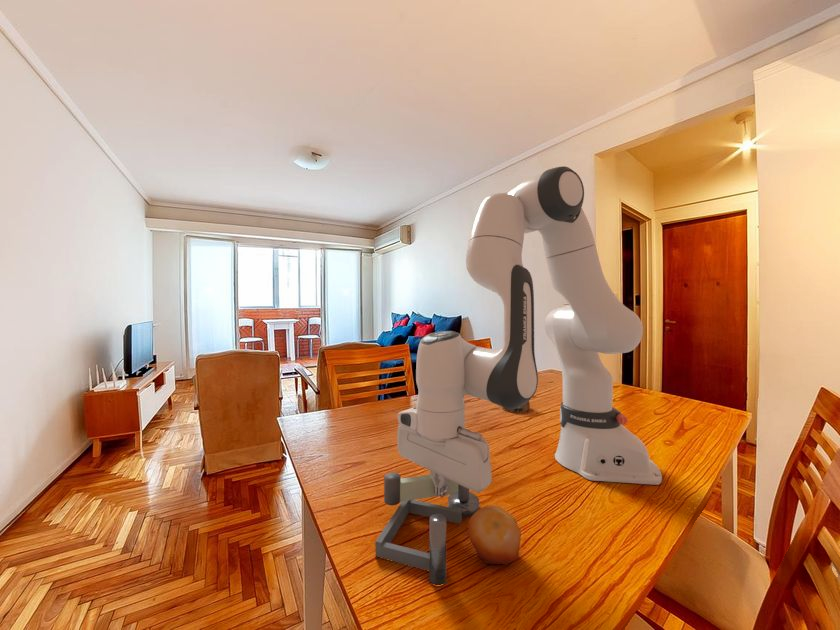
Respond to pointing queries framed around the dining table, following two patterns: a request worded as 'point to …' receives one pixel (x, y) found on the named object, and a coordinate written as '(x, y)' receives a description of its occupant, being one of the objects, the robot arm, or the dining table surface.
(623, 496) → the dining table surface
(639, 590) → the dining table surface
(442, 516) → the post
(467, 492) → the gate
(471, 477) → the robot arm
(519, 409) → the bread roll
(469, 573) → the dining table surface
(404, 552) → the gray frame
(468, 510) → the base
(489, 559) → the fruit
